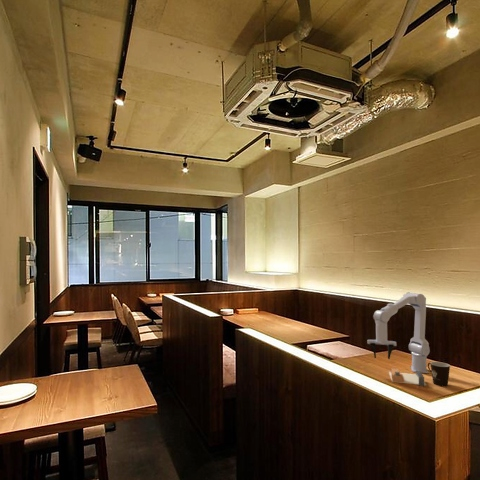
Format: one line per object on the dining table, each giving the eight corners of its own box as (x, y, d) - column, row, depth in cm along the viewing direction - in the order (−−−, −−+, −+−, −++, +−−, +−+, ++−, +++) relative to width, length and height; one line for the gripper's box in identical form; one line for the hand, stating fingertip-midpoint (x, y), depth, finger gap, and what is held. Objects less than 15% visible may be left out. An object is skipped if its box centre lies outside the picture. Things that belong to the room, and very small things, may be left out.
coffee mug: (453, 388, 168) (452, 367, 168) (434, 386, 169) (433, 366, 170) (444, 379, 179) (443, 360, 180) (426, 378, 181) (426, 359, 181)
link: (403, 382, 174) (403, 377, 174) (392, 380, 176) (392, 376, 176) (399, 372, 188) (399, 368, 189) (389, 371, 190) (389, 367, 190)
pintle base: (388, 371, 191) (388, 364, 191) (420, 375, 186) (420, 367, 186) (391, 381, 176) (391, 373, 176) (426, 385, 171) (426, 377, 171)
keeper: (415, 379, 179) (415, 371, 179) (420, 380, 178) (420, 371, 178) (419, 385, 170) (418, 376, 171) (424, 386, 170) (424, 377, 170)
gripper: (367, 333, 184) (368, 358, 184) (397, 335, 180) (397, 361, 179) (367, 330, 191) (367, 355, 190) (395, 332, 186) (395, 357, 186)
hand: (381, 358), depth 185 cm, fingers open, 6 cm apart
